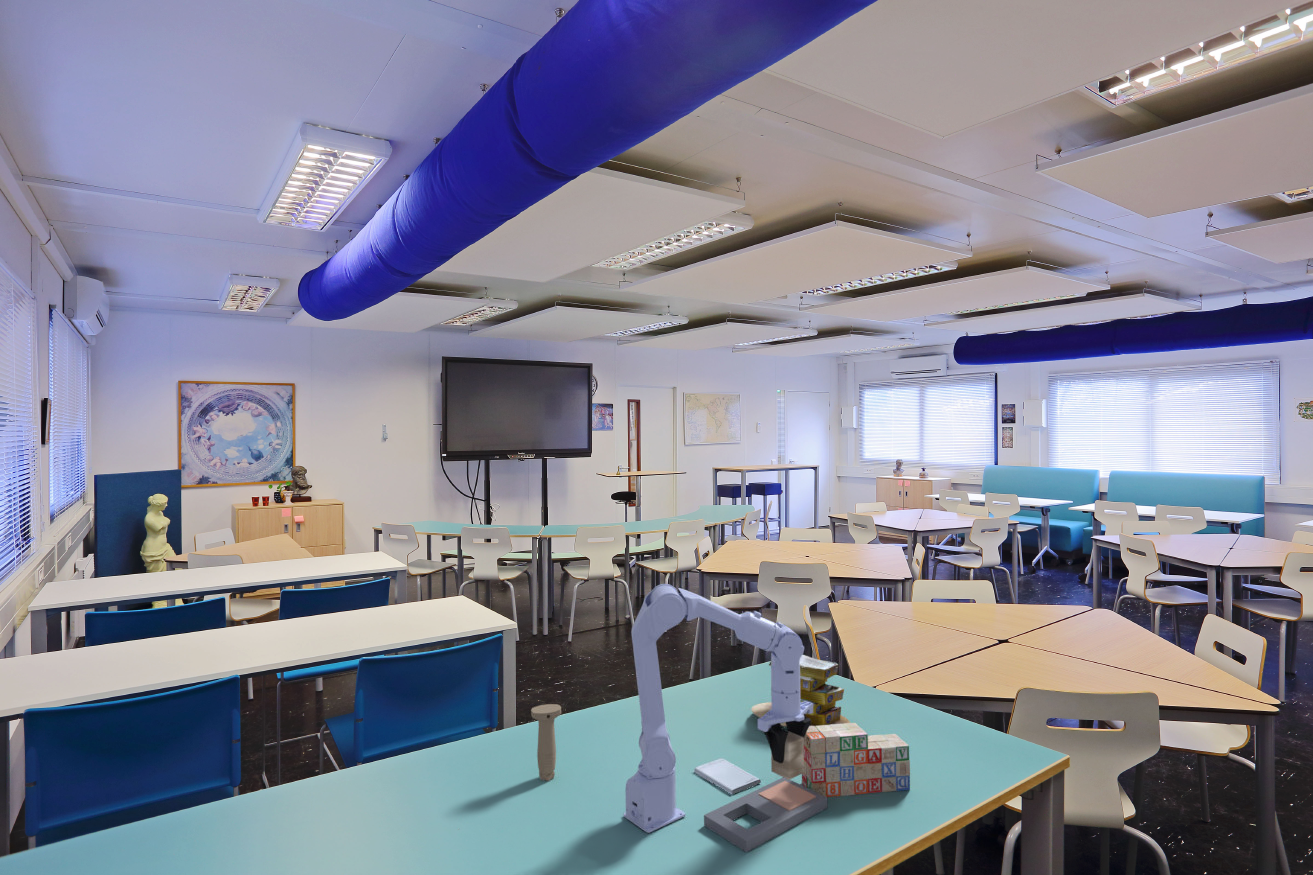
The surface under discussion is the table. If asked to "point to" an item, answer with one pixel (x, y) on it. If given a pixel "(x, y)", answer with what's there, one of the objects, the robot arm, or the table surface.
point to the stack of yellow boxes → (815, 693)
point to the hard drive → (727, 776)
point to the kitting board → (765, 813)
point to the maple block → (791, 758)
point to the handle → (546, 739)
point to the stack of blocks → (854, 761)
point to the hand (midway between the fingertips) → (786, 757)
